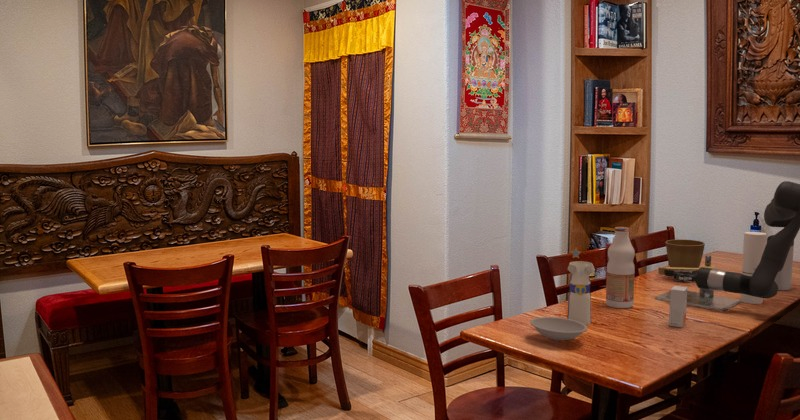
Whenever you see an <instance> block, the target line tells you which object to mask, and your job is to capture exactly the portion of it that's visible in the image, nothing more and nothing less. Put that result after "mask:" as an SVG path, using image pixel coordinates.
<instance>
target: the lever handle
mask: <svg viewBox="0 0 800 420" xmlns="http://www.w3.org/2000/svg"><path fill="white" fill-rule="evenodd" d="M701 267H705V268H712V269H716V266H715V265H712V264H711V266H706V265H705V264H700V267H699V268H701ZM699 268H676V267H670V266H669V267H665V266H658V272H657V273H658V275H659V276H663V275H664V271H665V270H666V269H670V270H681V269H683V270H699ZM664 276H665V275H664Z"/></svg>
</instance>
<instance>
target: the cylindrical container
mask: <svg viewBox="0 0 800 420" xmlns="http://www.w3.org/2000/svg"><path fill="white" fill-rule="evenodd" d="M767 237H768V236H767V233H766V232H759V231H744V234H743V249H742V264H741V265H742V267H741V274H744V275H747V276H752V275H753V273H754V271H755V270H756V268H757V266H758V265H759V263H760V261H761V258H762V255H763V252H764V249H765V246H766V244H767ZM763 299H764V298H759V297H755V296H750V295H746V294H740V300H741V302H742V303H745V304H751V305H753V304H754V305H759V304H760V305H761V304H763V302H764V300H763Z"/></svg>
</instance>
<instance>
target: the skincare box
mask: <svg viewBox="0 0 800 420" xmlns="http://www.w3.org/2000/svg"><path fill="white" fill-rule="evenodd" d="M670 291H671V292H670V302H669V314H668V315H669V316H668V317H669V318H668V326H670V327H675V328H676V327H677V328H683V327H684V325H686V322H687V321H686V320H687V306H688V305H687V291H688V287H687V286H678V285H674V286H672V288H671V289H670Z"/></svg>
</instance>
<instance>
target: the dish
mask: <svg viewBox="0 0 800 420" xmlns="http://www.w3.org/2000/svg"><path fill="white" fill-rule="evenodd" d="M529 323H530V325H531V326H533V327H534V329H535V330H536V331H537V333H539V334H541V335H542V336H544V337H546V338H548V339H551V340H554V341H556V342H561V341H570V340H573V339H574V340H575V339H576V338H577V337H579V336H581V335H582V334H583V333H584V332H586V331H587V330H588V326H587V325H585V324H583V323H581V322H578V321H575V320H571V319H567V318H564V317H563V318H562V317H555V316H540V317H536V318H532V319H531V320H530V321H529Z"/></svg>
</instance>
